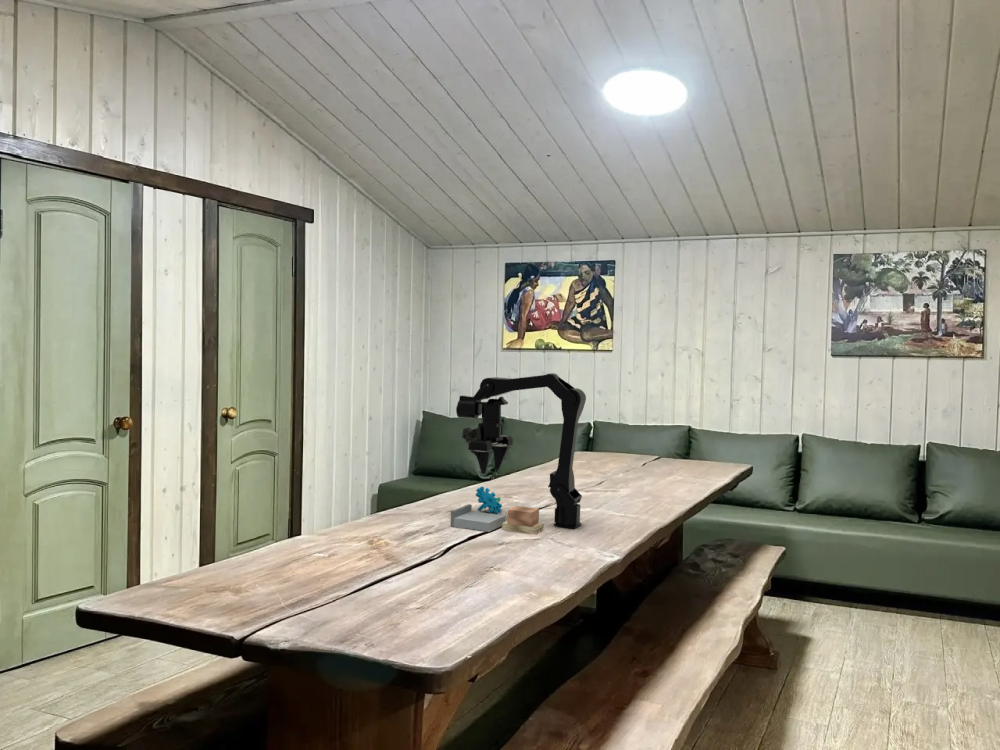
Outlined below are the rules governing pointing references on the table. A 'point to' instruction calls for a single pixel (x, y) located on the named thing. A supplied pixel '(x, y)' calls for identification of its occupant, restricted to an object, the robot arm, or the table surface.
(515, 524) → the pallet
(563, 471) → the robot arm
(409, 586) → the table surface
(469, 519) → the dock
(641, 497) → the table surface
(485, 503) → the gear
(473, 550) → the table surface
